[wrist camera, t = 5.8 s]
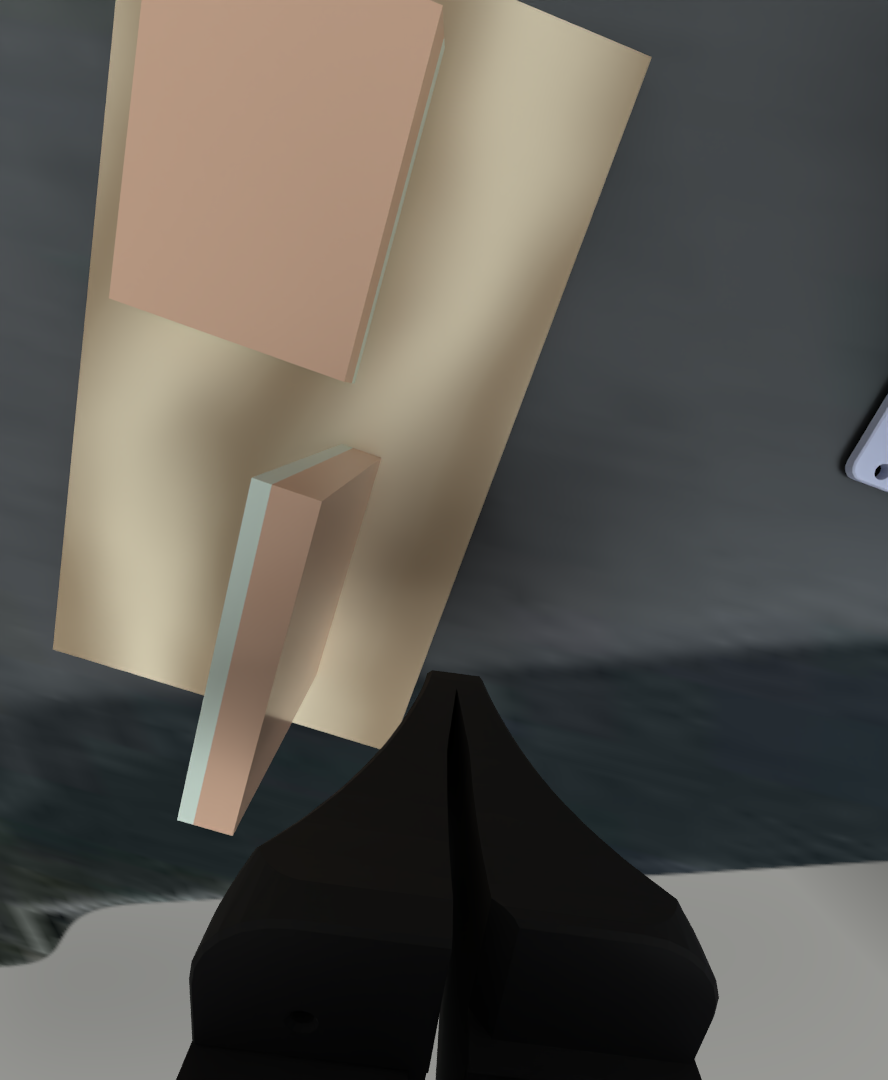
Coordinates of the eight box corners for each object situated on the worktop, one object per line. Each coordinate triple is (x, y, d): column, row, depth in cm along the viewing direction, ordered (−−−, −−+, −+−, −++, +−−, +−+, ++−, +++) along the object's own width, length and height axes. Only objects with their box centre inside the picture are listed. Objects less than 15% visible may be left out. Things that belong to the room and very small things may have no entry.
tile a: (442, 5, 11) (154, -115, 11) (343, 381, 14) (108, 298, 13) (444, 48, 12) (188, -57, 12) (354, 383, 15) (141, 307, 14)
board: (643, 72, 13) (651, 56, 12) (392, 741, 20) (390, 751, 19) (147, -135, 12) (131, -162, 11) (65, 641, 19) (53, 649, 18)
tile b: (381, 457, 16) (321, 501, 9) (316, 675, 18) (232, 835, 11) (341, 444, 16) (251, 477, 9) (282, 664, 18) (177, 819, 11)
